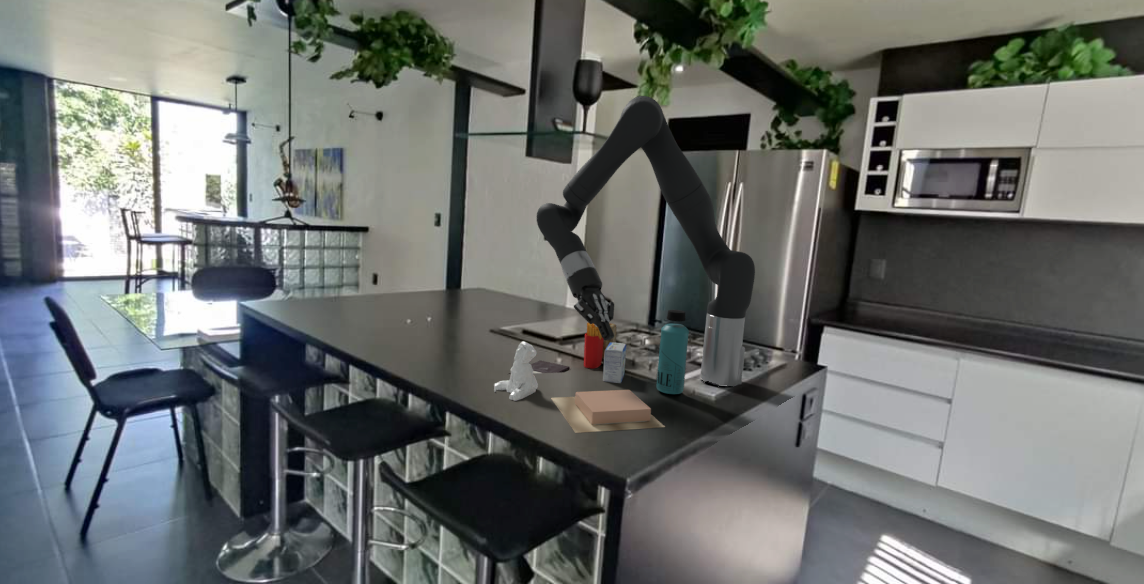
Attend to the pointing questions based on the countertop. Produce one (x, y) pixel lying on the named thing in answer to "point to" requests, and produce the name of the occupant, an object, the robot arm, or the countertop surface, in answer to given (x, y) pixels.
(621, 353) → the medicine box
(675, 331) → the beverage bottle
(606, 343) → the tan mottled block
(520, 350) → the sitting furry creature
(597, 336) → the french fries
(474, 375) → the countertop surface
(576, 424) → the birch board
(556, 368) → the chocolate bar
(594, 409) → the glazed tile
